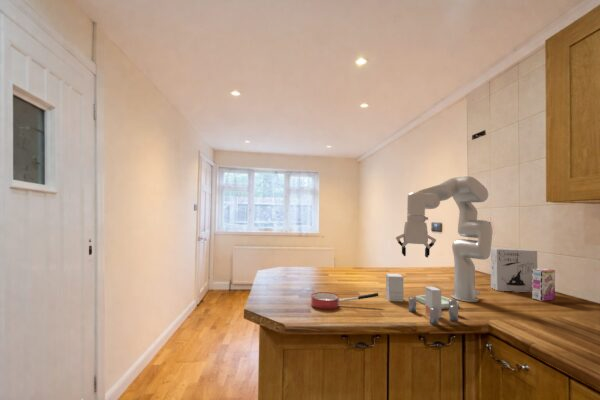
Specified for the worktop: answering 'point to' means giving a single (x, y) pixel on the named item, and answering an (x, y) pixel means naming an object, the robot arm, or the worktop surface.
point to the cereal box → (512, 269)
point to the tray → (443, 301)
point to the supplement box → (394, 287)
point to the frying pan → (332, 300)
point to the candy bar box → (543, 284)
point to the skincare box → (432, 300)
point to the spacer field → (434, 311)
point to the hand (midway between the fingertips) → (415, 256)
